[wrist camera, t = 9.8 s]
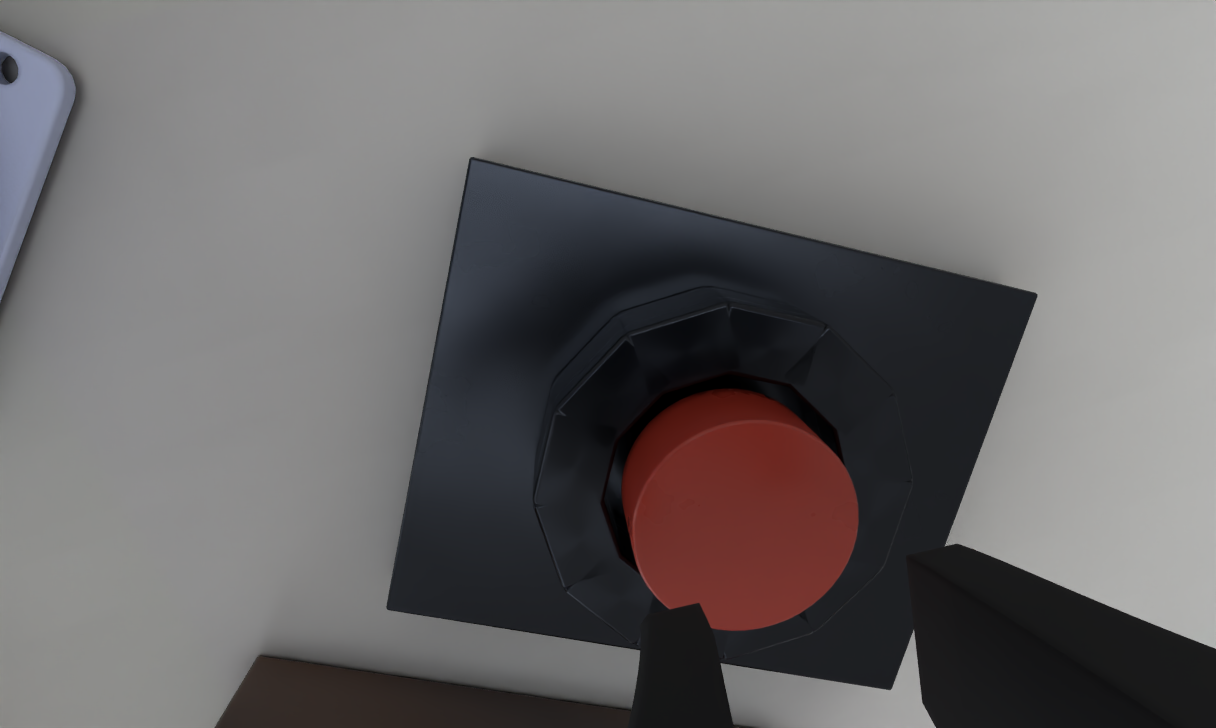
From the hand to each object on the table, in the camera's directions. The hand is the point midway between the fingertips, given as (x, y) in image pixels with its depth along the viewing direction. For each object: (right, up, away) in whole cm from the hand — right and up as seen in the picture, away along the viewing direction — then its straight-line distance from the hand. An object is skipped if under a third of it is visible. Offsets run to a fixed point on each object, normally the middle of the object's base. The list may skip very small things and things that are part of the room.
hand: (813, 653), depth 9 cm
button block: (-1, +2, +7) cm, 7 cm away
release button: (0, +1, +5) cm, 5 cm away
